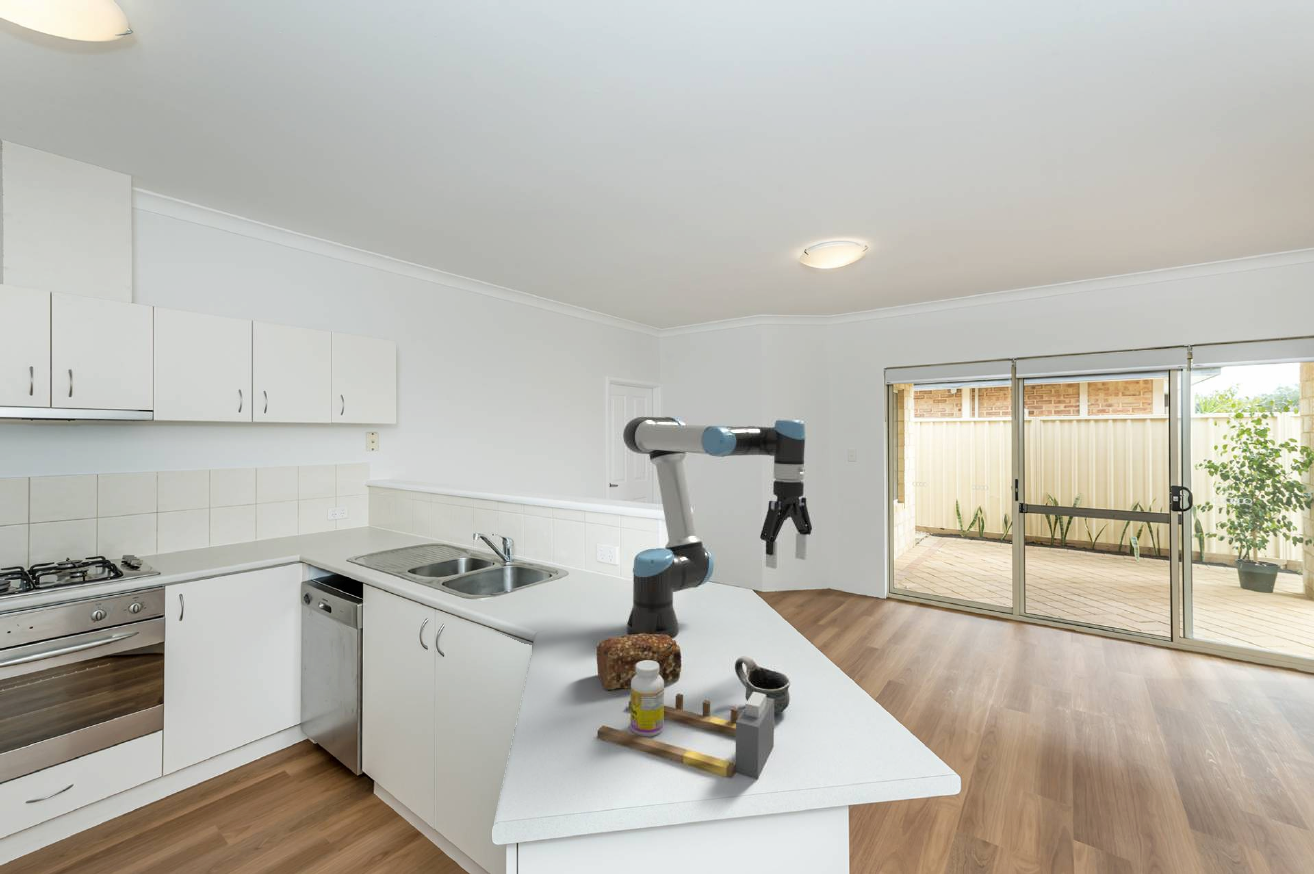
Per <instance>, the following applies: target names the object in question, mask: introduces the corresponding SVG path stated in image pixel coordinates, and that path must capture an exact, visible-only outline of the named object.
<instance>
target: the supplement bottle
mask: <svg viewBox="0 0 1314 874" xmlns="http://www.w3.org/2000/svg"><path fill="white" fill-rule="evenodd" d="M636 673H637V675H635V676H634V677H633V678H632V680H631V688H630V700H631V709H630V713H629V714H630V718H629V719H630V723H629V724H630V725H629V726H630V729H631V731H632V732H633V734H635V735H638V736H642V737H645V738H649V737H654V736H657V735H659V734H660V733H661V732H663V730H664V726H665V723H664V719H665V718H664V705H665V682H664V680H663V678H662V677H661V676H660V675H659V664H658V663H657V662H655V661H652V660H644V661H640V662H638V663H637V664H636Z"/></svg>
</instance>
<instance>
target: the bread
mask: <svg viewBox="0 0 1314 874" xmlns="http://www.w3.org/2000/svg"><path fill="white" fill-rule="evenodd" d="M644 660H652V661H655V662H657V663H658V664H659V675H660V676H661V677H662V678H663V680H664V683H667V682H676V681H679V680H680V678H681V671H682V653H681V647H680V645H678V644H677V640H675V639H673V638H670V637H669V636H668V635H667V634H661V635H658V634H655V635H651V634H646V633H643V634H635V635H622V636H620V637H608V638H606V639H603V640H602V641H601V642H599V643H598V644H597V647H596V665H597V669H596V670H597V673H598V674H597V675H598V677H599V679H600V682H601V684H602V685H603V687H604V689H605V690H606V691H607V690H609V691H614V690H616V689H631V680H632V678H633V677H634V676H635V675H637V673H636V664H637V663H638V662H640V661H644Z"/></svg>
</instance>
